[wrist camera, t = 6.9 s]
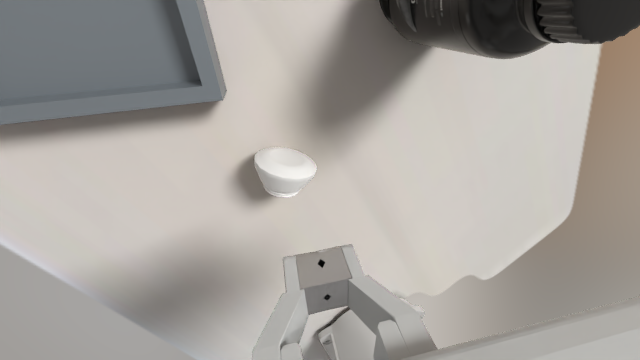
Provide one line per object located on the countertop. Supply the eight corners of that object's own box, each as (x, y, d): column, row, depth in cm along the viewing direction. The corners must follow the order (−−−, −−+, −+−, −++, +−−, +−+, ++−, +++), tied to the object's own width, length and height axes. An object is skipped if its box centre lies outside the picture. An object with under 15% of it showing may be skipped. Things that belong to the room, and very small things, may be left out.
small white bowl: (311, 147, 23) (323, 176, 19) (304, 174, 24) (314, 207, 20) (255, 139, 21) (255, 169, 17) (251, 169, 23) (250, 203, 19)
